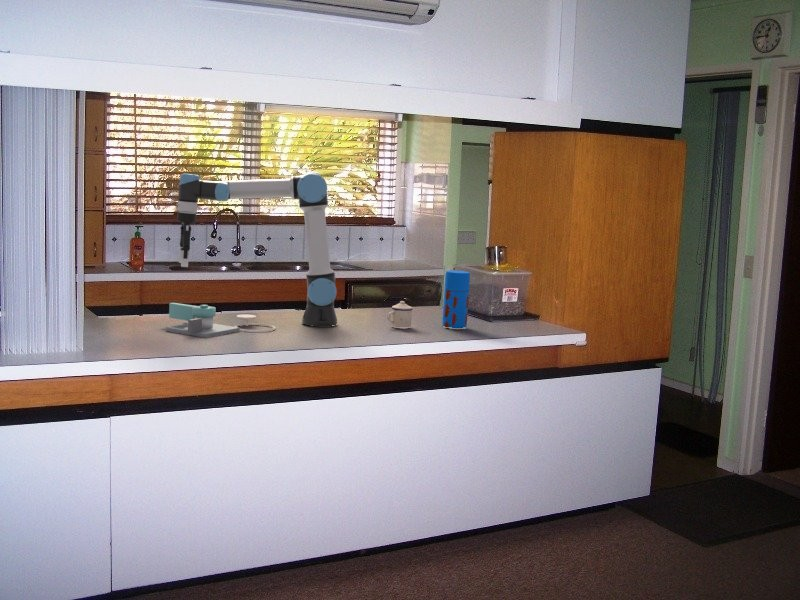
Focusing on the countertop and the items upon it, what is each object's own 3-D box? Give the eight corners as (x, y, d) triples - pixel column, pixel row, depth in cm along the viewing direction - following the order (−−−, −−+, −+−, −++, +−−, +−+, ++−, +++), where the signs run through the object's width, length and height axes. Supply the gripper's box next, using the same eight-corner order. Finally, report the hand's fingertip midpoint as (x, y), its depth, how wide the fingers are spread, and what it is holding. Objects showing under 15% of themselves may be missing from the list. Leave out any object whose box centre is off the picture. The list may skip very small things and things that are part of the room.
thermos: (456, 325, 389) (459, 270, 386) (471, 329, 380) (475, 273, 377) (437, 326, 383) (440, 270, 380) (451, 330, 374) (455, 273, 371)
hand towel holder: (245, 323, 339) (223, 315, 356) (245, 334, 340) (223, 326, 356) (283, 321, 350) (260, 313, 366) (283, 331, 350) (259, 323, 366)
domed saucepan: (220, 322, 341) (220, 305, 340) (204, 325, 333) (205, 307, 332) (179, 316, 351) (179, 299, 350) (163, 318, 343) (163, 301, 342)
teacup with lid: (403, 325, 381) (404, 299, 379) (415, 328, 373) (417, 302, 372) (381, 326, 373) (382, 300, 372) (393, 330, 366) (394, 303, 365)
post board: (239, 331, 344) (240, 315, 343) (200, 338, 324) (201, 321, 323) (201, 325, 353) (201, 309, 352) (160, 332, 333) (161, 315, 332)
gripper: (175, 209, 356) (172, 260, 359) (179, 213, 332) (175, 267, 335) (194, 211, 358) (190, 262, 361) (199, 215, 335) (195, 269, 338)
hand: (183, 264), depth 348 cm, fingers open, 13 cm apart
